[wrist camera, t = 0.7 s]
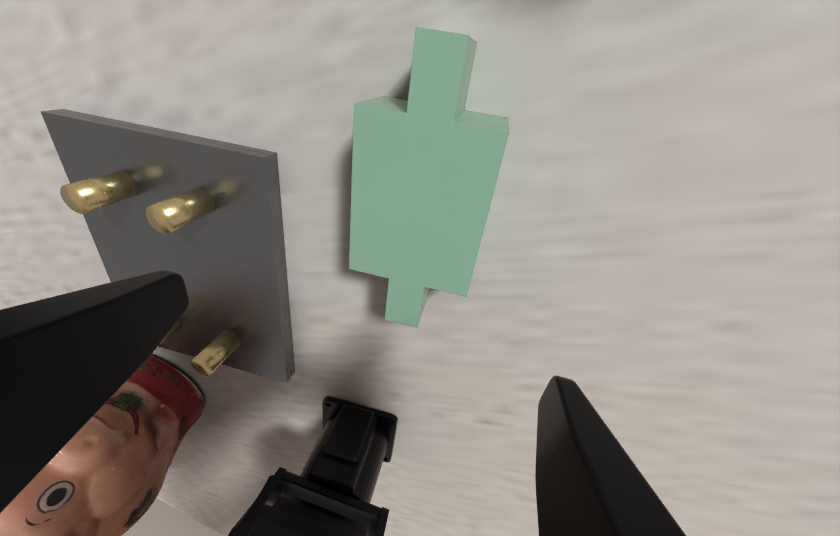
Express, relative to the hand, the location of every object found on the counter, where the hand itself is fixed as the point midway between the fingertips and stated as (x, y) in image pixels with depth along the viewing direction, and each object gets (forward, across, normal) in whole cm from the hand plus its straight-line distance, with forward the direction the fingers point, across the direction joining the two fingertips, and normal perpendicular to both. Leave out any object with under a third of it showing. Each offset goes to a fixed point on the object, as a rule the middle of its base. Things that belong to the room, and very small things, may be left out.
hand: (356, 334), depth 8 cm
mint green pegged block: (+12, 0, 0) cm, 12 cm away
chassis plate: (+12, +16, +10) cm, 22 cm away
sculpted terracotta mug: (+12, +24, +28) cm, 38 cm away
